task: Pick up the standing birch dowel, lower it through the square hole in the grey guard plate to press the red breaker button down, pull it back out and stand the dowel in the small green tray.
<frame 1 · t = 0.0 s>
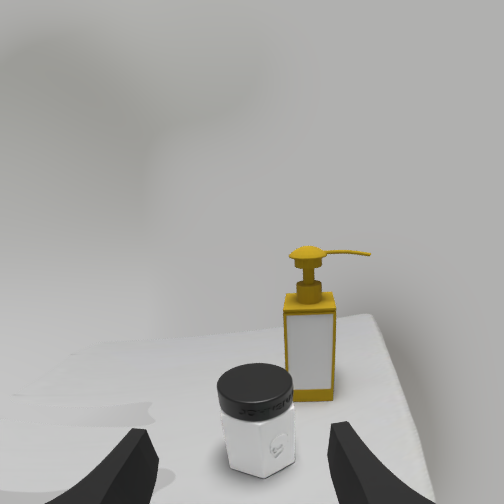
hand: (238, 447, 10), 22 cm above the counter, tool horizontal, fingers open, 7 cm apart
soap bottle: (326, 389, 48), on the counter
jar: (261, 455, 34), on the counter
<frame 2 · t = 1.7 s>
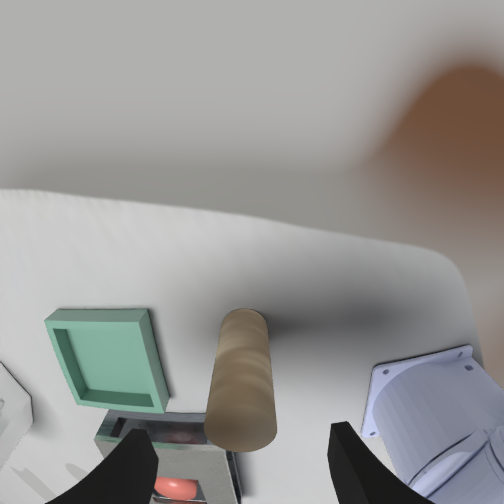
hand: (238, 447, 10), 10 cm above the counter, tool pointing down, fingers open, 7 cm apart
button: (176, 484, 21), point 3 cm above the counter, slide at 0.0 cm
dowel: (244, 329, 20), on the counter
tray: (111, 355, 21), on the counter
jar: (5, 390, 23), on the counter
breaker panel: (181, 459, 24), on the counter
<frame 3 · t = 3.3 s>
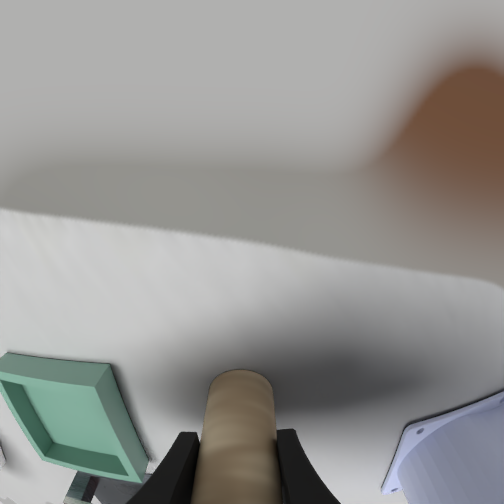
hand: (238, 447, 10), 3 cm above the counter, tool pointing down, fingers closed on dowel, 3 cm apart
dowel: (240, 394, 14), on the counter, touching gripper
tray: (74, 411, 14), on the counter
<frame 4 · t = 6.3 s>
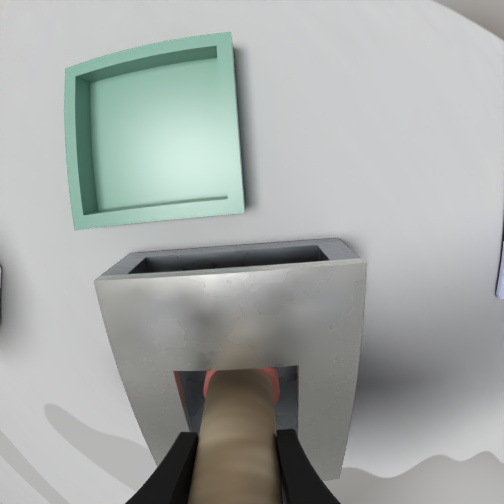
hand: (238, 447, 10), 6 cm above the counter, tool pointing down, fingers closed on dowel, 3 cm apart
button: (241, 384, 15), point 2 cm above the counter, slide at 1.3 cm, touching dowel
dowel: (240, 388, 14), point 3 cm above the counter, touching button, gripper
tray: (155, 133, 13), on the counter
breaker panel: (242, 363, 16), on the counter
when the fingers open (5 cm above the counter, at t = 9.5 s): dowel stays where it is, resting on tray.
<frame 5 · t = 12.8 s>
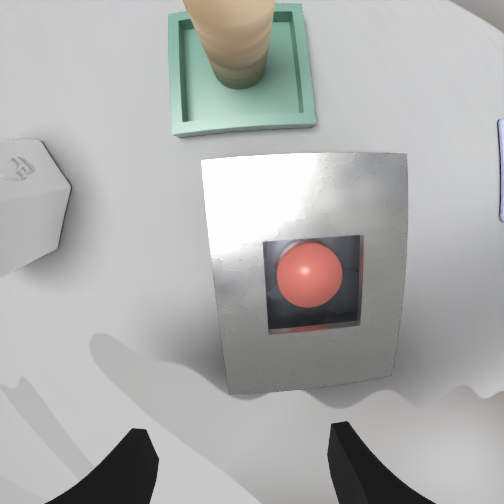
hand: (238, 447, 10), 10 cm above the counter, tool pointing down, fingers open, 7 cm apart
button: (308, 273, 18), point 2 cm above the counter, slide at 1.3 cm
dowel: (239, 66, 16), resting on tray
tray: (239, 70, 16), on the counter
jar: (28, 200, 18), on the counter
breaker panel: (303, 263, 19), on the counter
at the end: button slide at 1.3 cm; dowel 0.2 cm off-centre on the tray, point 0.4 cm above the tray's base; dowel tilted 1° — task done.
